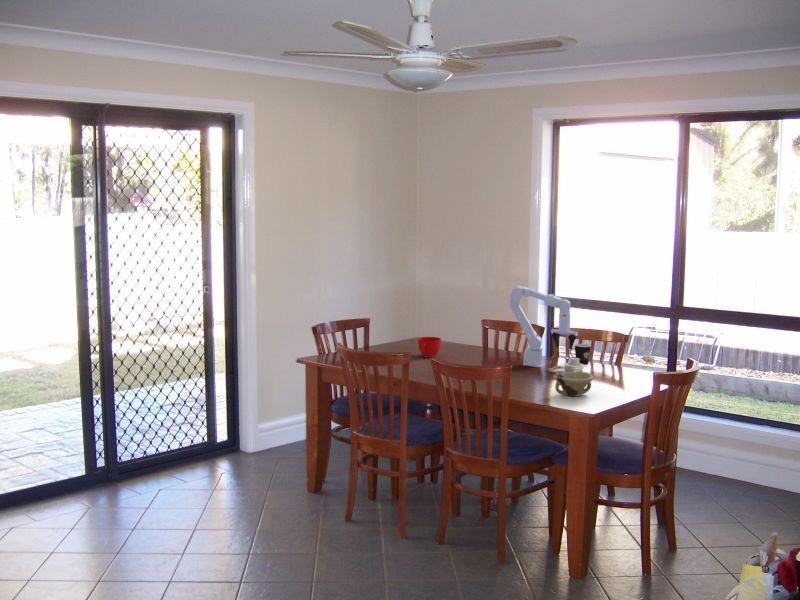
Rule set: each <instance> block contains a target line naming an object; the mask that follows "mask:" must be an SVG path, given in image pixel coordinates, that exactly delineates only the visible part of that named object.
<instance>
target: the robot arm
mask: <svg viewBox="0 0 800 600" xmlns="http://www.w3.org/2000/svg"><path fill="white" fill-rule="evenodd" d="M509 296H510V298H509V308H510V310H511V311H512V313H513V314H514V317H515V318H516V320H517V321H518V323H519V325H520V327H521V328H522V330H523V332H524V334H525V335H526V338H527V341H528V346H529V347H526V348H525V349H524V352H523V364H522V365H523V366H527V367H528V366H529V367H536V368H540V367H543V366H545V365H546V364H545V363H543V348H542V345H543V338H542V337H541V336H540V335H539V334H538V333H537V331H535V329H534V328H533V326H532V324H531V322H530V321H529V319H528V317H527V316H526V313H525V312H524V310H523V309H522V306H521V305H520V304H521V301H522V298H523V297H524V298H529V297H532V298H533V299H534V298H535V299H537V300H539V301H543V302H544V303H545V305H548V306H550V307H553V308H555V309H559V314H558V316H559V317H558V329H555V328H554V329H551V330H550V333H551V336H552V338H553V342H554V344H555V347H556V348H559V347H560V337H561V335H565V336H567V337H568V350H571V349H572V348H574V347H573V346H574V343H575V340H576V339H577V338H578V336H579V332H578V331H573V330H571V310H570V309H571V301H569V300H568V299H566V298H564V297H559V296H556V295H555V293H552V294H551V293H549V294H547V295H546V294H544V293H543V292H542V293H541V292H539V291H538V290H535V289H533V288H529V287H526V286H522V285H520V284H519V285H516V286H514V287H513V289H512V290H511V292H510V295H509Z"/></svg>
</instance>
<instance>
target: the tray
mask: <svg viewBox="0 0 800 600" xmlns="http://www.w3.org/2000/svg"><path fill="white" fill-rule="evenodd" d="M547 372H551V373H556V374H559V373H565V366H563V365H557V366H553V367H551V368H548V369H547ZM574 372H583V369H576V368H574Z"/></svg>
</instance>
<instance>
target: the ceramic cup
mask: <svg viewBox="0 0 800 600" xmlns="http://www.w3.org/2000/svg"><path fill="white" fill-rule="evenodd" d="M441 343H442V338H440V337H436V336H422V337H419V338H417V344H418V345H417V346H418V350H419V353H421V355H422V356H423V357H424V356H427V357H426V358H429V356H430V358H432V357H431V356H435V355H436V356H437V355H438V354H439V352H440V350H441ZM436 356H435V357H436Z"/></svg>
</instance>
